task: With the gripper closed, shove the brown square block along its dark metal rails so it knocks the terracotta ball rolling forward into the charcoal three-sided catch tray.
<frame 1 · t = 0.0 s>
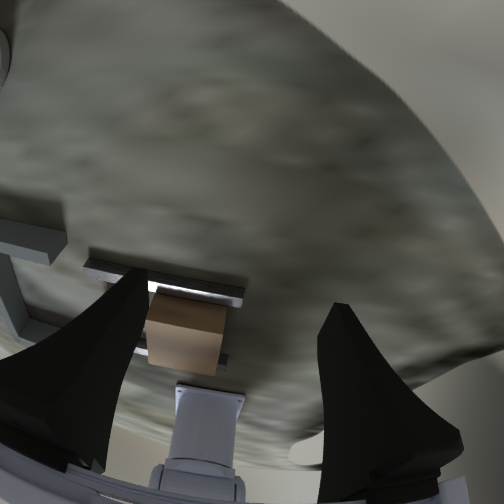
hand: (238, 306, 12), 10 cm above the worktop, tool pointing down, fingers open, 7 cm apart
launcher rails: (161, 316, 27), on the worktop
brown square block: (185, 337, 26), point 2 cm above the worktop, slide at 0.0 cm
catch tray: (40, 285, 26), on the worktop
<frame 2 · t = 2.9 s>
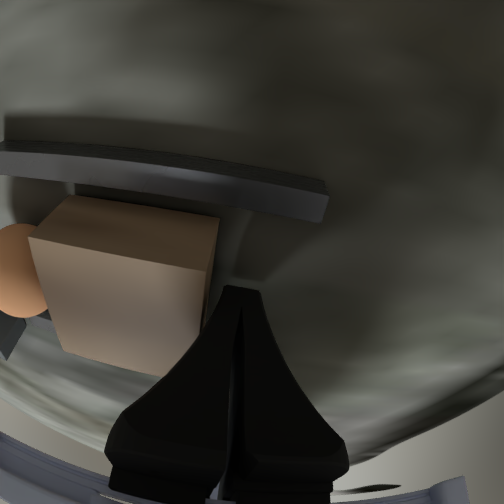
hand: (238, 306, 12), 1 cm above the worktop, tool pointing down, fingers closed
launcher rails: (136, 263, 13), on the worktop
brown square block: (128, 293, 12), point 2 cm above the worktop, slide at 2.3 cm, touching gripper
ball: (21, 270, 11), point 2 cm above the worktop, tilted 37°
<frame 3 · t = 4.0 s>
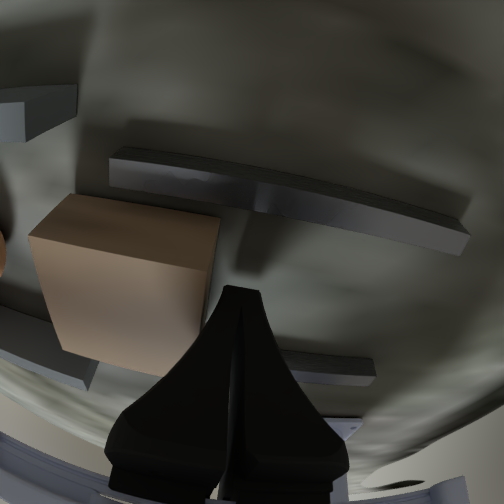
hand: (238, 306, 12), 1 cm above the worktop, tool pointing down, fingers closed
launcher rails: (276, 288, 13), on the worktop
brown square block: (128, 292, 12), point 2 cm above the worktop, slide at 8.2 cm, touching gripper
catch tray: (12, 235, 12), on the worktop
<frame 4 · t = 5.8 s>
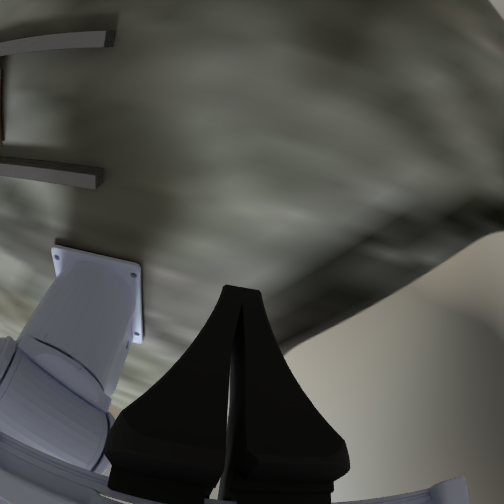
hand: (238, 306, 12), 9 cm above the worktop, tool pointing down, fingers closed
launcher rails: (28, 106, 16), on the worktop
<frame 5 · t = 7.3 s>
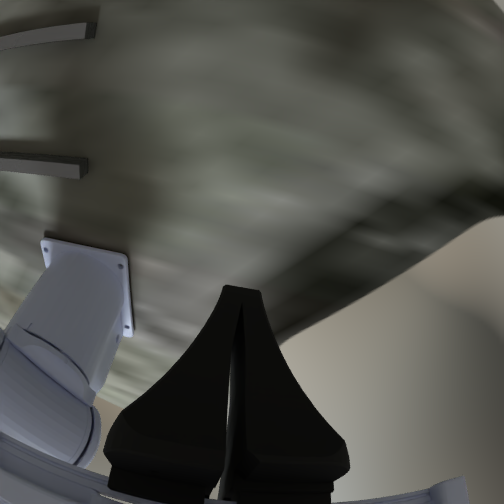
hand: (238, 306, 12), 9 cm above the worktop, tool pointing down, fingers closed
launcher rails: (15, 100, 16), on the worktop
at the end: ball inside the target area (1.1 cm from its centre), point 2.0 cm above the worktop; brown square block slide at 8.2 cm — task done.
